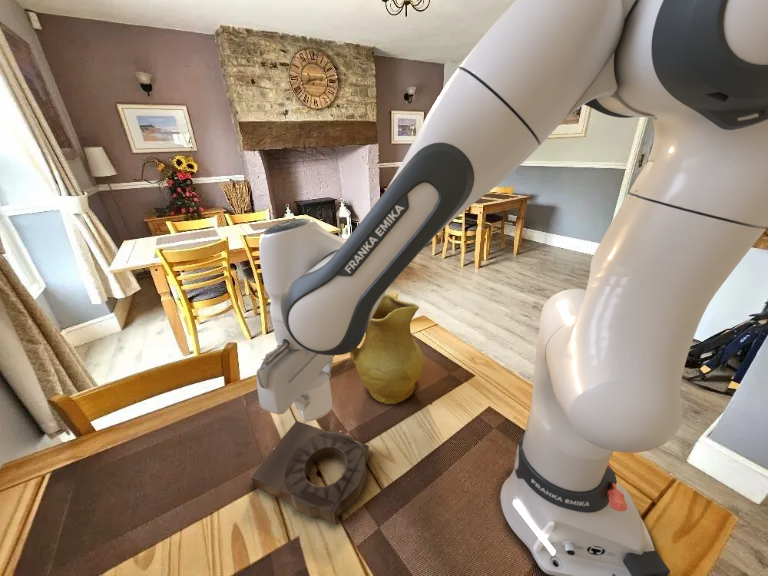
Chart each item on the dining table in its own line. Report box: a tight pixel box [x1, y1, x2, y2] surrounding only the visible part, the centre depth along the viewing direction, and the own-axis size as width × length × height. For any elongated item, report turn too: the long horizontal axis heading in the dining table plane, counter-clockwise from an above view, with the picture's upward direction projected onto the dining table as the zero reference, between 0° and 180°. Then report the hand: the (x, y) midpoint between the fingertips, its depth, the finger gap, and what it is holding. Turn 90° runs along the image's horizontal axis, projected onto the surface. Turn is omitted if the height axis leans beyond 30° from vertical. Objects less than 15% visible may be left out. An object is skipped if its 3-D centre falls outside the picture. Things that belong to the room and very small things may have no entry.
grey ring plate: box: [250, 420, 370, 525], centre depth 61 cm, size 20×15×3 cm
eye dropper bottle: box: [299, 371, 334, 422], centre depth 53 cm, size 4×6×12 cm
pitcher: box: [349, 293, 425, 405], centre depth 79 cm, size 17×19×25 cm
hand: (314, 392), depth 54 cm, fingers closed on eye dropper bottle, 5 cm apart
